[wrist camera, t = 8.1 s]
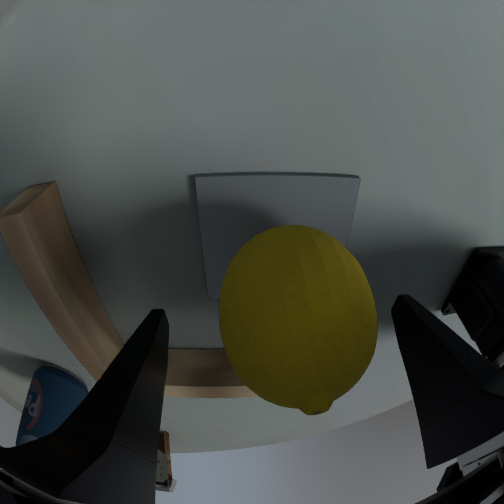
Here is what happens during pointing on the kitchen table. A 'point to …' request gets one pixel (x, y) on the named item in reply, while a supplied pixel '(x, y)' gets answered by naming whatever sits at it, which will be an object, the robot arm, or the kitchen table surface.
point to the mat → (267, 211)
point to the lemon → (297, 318)
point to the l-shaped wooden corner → (93, 299)
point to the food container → (164, 465)
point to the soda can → (49, 401)
